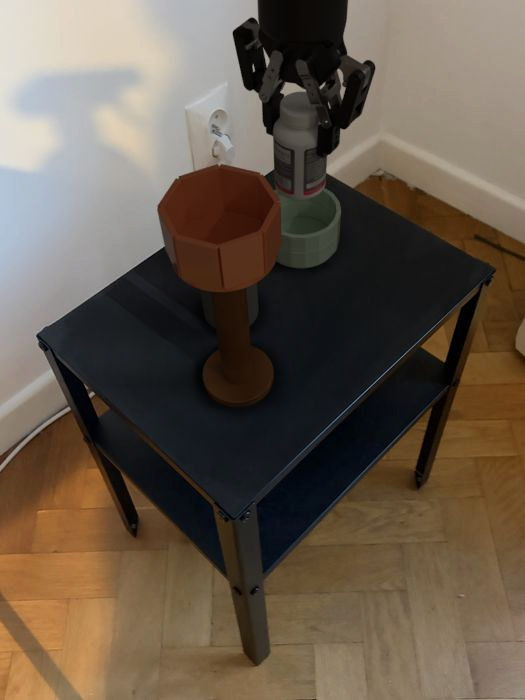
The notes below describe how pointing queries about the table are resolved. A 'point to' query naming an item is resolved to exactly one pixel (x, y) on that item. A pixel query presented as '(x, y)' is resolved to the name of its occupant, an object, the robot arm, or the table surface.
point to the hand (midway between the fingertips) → (300, 141)
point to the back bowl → (309, 229)
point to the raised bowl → (221, 227)
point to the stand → (235, 355)
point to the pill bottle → (297, 149)
